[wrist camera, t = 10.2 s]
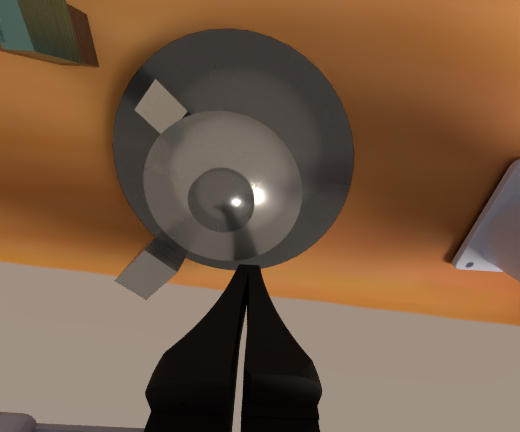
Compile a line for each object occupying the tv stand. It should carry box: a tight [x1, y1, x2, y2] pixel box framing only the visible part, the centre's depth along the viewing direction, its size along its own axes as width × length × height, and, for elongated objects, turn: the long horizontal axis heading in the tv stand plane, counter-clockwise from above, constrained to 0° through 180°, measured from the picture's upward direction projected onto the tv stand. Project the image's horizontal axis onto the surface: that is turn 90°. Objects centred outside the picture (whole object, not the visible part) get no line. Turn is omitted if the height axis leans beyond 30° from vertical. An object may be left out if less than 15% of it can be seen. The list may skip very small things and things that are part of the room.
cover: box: [143, 111, 302, 261], centre depth 10 cm, size 7×7×3 cm
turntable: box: [113, 29, 354, 300], centre depth 11 cm, size 13×14×4 cm
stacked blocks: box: [0, 0, 99, 67], centre depth 8 cm, size 3×2×4 cm
